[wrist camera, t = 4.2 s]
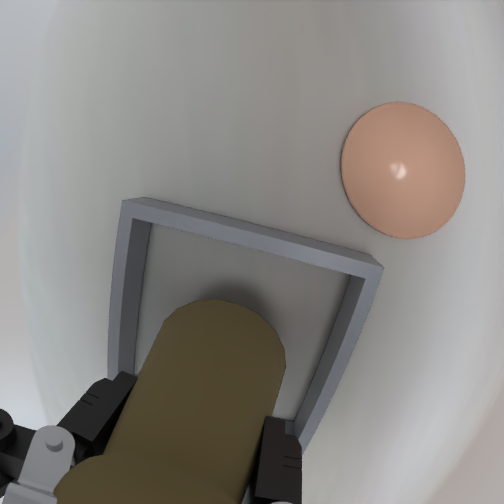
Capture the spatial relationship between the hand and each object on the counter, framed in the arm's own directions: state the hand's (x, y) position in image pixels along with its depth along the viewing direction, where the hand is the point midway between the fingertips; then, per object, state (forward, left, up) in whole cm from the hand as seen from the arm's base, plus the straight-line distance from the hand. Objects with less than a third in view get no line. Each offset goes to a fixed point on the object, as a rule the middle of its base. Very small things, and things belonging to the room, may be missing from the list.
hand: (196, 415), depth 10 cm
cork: (0, 0, -4) cm, 4 cm away
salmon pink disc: (-11, +7, -8) cm, 15 cm away
